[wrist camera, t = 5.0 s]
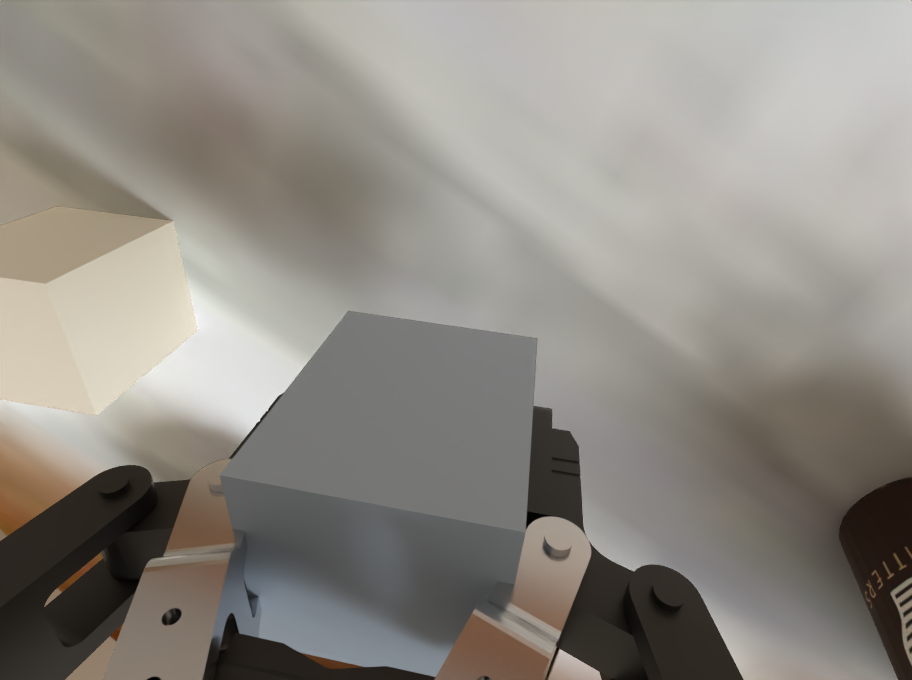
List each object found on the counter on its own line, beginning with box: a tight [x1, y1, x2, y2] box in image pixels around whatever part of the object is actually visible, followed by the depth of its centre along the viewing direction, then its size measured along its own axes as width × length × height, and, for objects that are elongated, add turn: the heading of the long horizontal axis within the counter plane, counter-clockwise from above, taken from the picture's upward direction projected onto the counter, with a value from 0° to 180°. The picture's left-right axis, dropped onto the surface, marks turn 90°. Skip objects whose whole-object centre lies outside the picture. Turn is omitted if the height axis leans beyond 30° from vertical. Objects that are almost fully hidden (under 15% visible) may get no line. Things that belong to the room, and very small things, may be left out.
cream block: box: [0, 206, 198, 416], centre depth 19 cm, size 5×5×6 cm
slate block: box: [220, 311, 537, 677], centre depth 12 cm, size 5×5×6 cm
